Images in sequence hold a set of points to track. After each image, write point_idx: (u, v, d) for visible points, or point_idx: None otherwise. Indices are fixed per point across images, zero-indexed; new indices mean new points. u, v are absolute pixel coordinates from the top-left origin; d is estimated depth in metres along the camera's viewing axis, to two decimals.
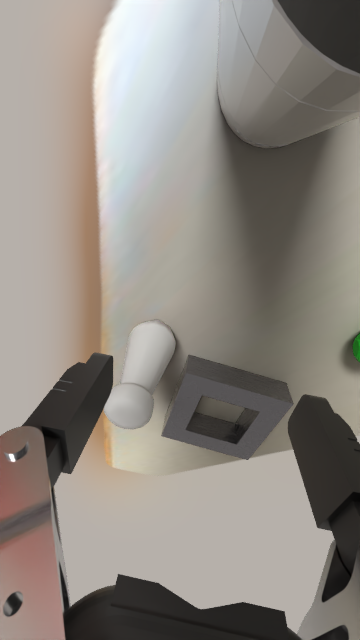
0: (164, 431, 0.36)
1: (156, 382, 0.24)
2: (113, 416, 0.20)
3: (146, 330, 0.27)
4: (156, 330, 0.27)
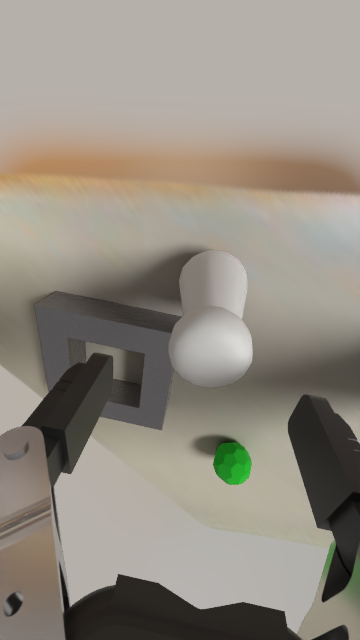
0: (47, 309, 0.23)
1: None
2: (210, 346, 0.11)
3: (246, 285, 0.19)
4: None
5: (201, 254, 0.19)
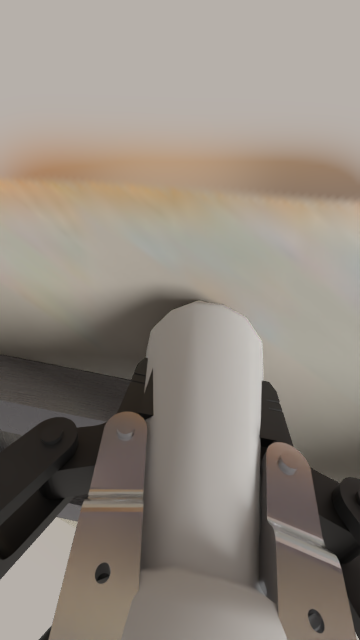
0: None
1: None
2: None
3: (262, 367, 0.11)
4: None
5: (181, 312, 0.11)
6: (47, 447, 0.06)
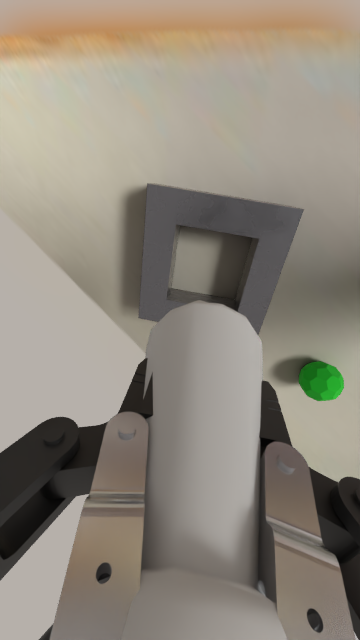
0: (161, 188, 0.22)
1: None
2: None
3: None
4: None
5: (181, 312, 0.11)
6: (48, 447, 0.06)
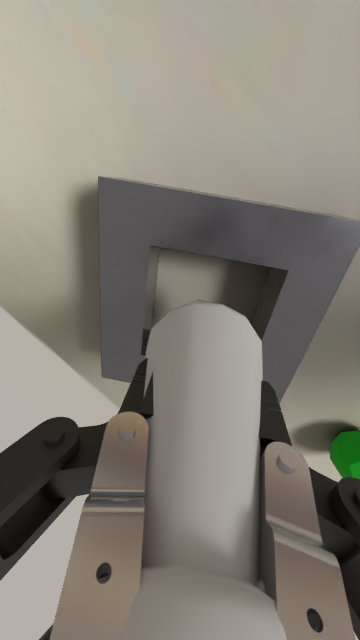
0: (123, 184, 0.13)
1: None
2: None
3: (261, 366, 0.11)
4: None
5: (181, 312, 0.11)
6: (49, 447, 0.06)
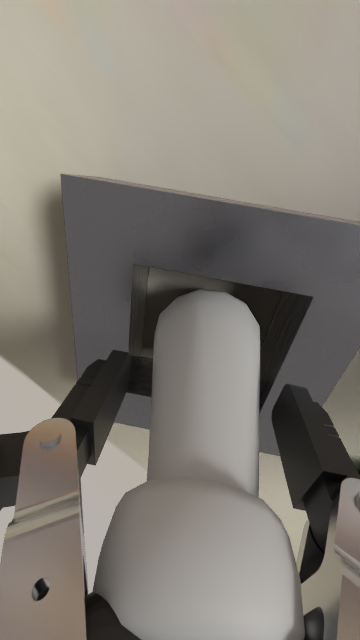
0: (93, 185, 0.09)
1: None
2: None
3: (259, 347, 0.12)
4: None
5: (188, 298, 0.12)
6: None
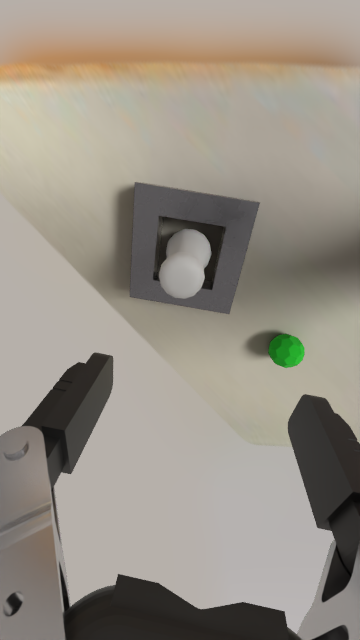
0: (146, 186, 0.27)
1: None
2: (180, 269, 0.21)
3: (209, 251, 0.30)
4: (208, 259, 0.30)
5: (180, 231, 0.30)
6: None
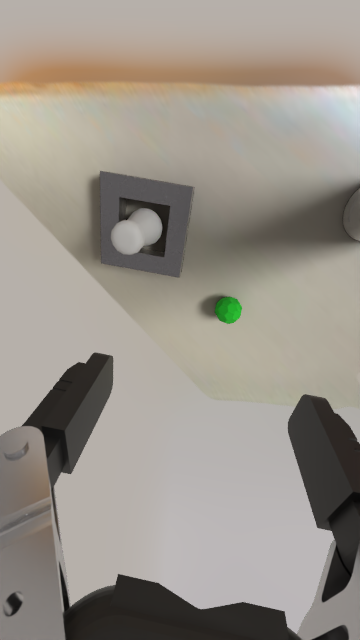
0: (108, 174, 0.36)
1: None
2: (124, 231, 0.30)
3: (159, 225, 0.38)
4: (159, 232, 0.39)
5: (137, 210, 0.38)
6: None
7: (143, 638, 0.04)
